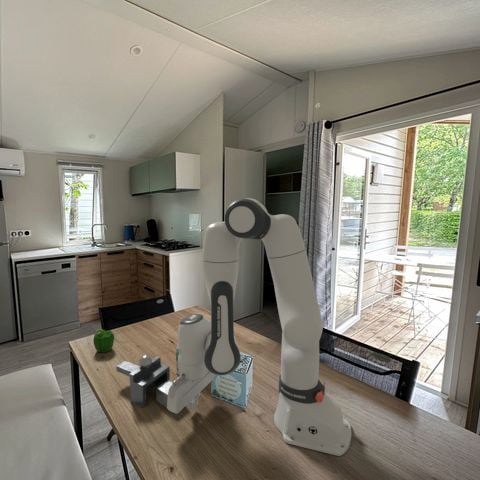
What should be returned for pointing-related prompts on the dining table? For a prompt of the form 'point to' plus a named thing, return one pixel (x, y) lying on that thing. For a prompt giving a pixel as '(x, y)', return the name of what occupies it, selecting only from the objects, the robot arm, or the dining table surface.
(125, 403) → the dining table surface
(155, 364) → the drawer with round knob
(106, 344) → the bell pepper
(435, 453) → the dining table surface
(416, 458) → the dining table surface
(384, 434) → the dining table surface
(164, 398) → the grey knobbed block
